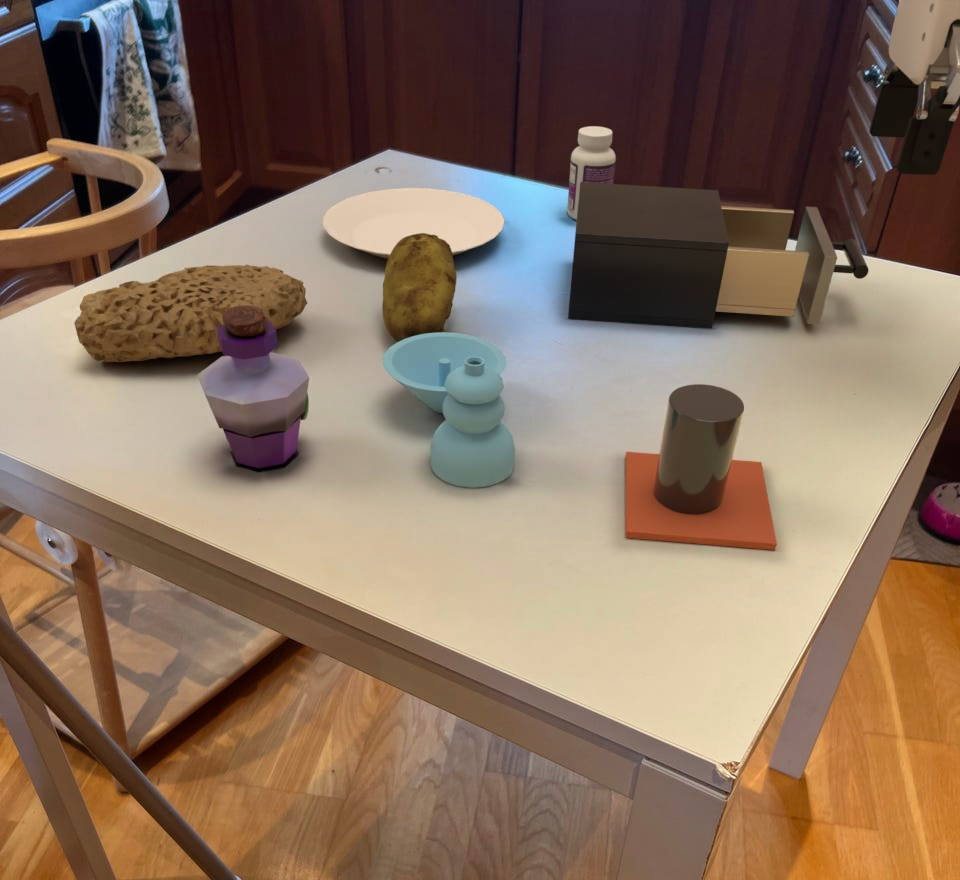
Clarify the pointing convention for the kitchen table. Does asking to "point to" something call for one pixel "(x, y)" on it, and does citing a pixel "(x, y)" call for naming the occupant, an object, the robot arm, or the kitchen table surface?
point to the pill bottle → (590, 163)
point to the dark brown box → (647, 255)
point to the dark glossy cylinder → (697, 448)
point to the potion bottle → (256, 391)
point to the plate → (412, 219)
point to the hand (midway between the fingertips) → (901, 153)
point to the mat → (728, 525)
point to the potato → (418, 286)
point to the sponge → (181, 311)
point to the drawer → (780, 263)
